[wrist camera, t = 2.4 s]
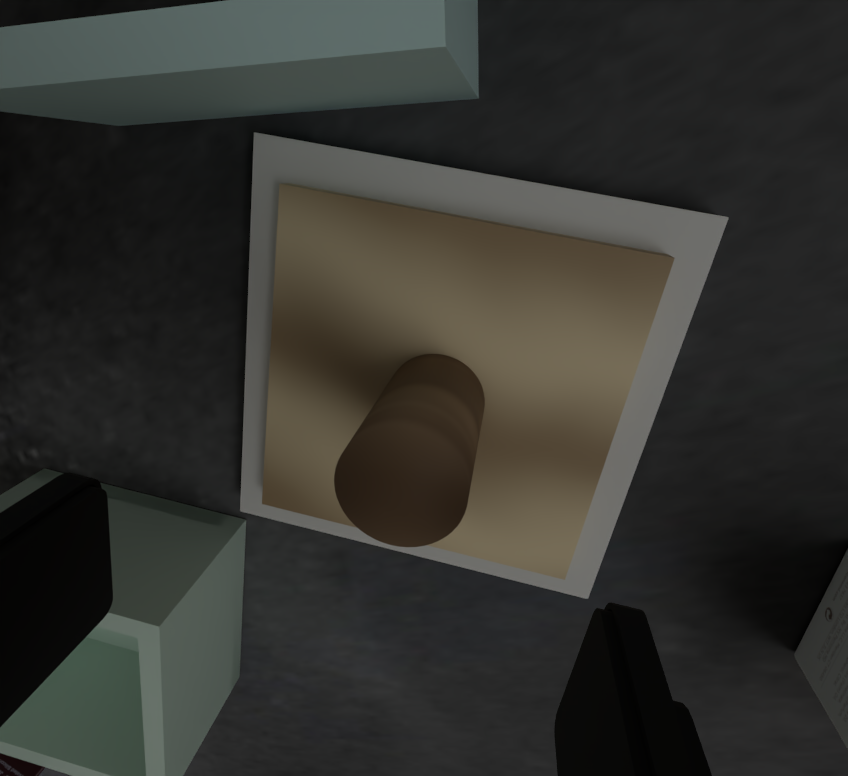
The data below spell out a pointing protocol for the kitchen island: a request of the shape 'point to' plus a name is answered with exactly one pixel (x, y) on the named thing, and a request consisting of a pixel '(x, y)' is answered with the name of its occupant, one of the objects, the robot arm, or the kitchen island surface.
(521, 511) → the lid
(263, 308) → the mat
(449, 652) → the kitchen island surface
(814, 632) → the small box
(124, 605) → the open box
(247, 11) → the l-shaped corner panel
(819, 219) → the kitchen island surface
